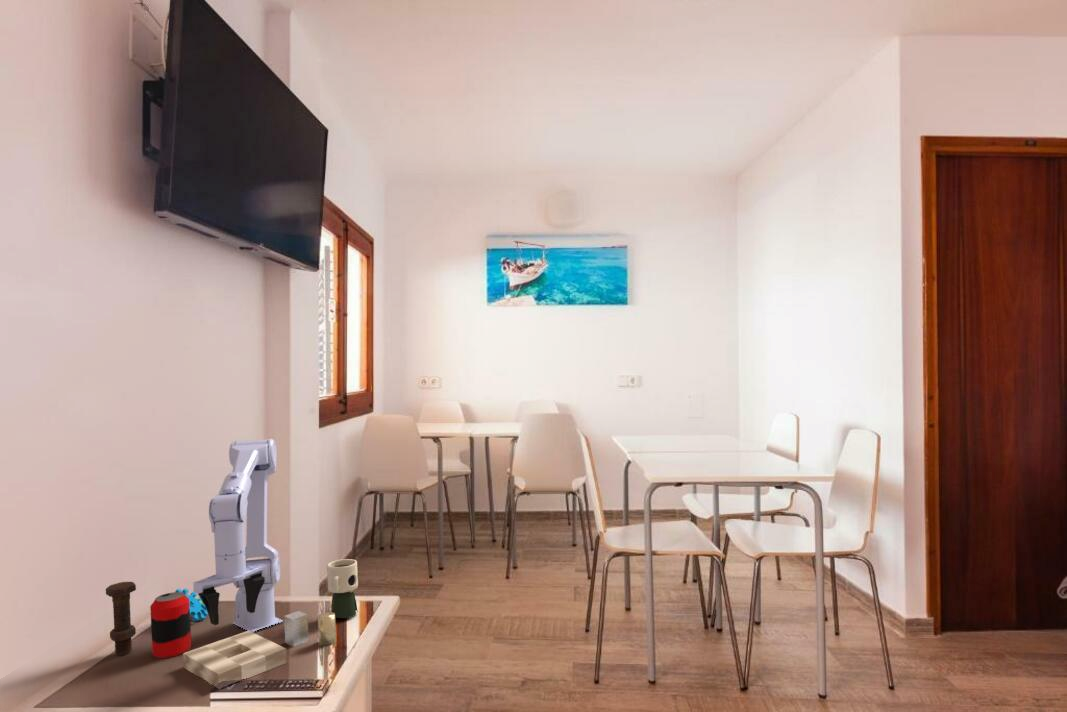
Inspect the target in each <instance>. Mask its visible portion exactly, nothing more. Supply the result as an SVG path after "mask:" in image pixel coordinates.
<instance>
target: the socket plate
mask: <svg viewBox="0 0 1067 712" xmlns="http://www.w3.org/2000/svg"><path fill="white" fill-rule="evenodd" d="M182 657H183V668H184V669H186V670H187V671H189V673H192V674H193V673H194V674H193V675H195V674H196V675H197V676H196V675H195V676H196V677H198V676H199V677H201V678H203V679H204V680H206V681H208V682H209V683H210V684H209V683H208V684H209V685H211V684H212V685H215V684H217V683H220V682H222V681H230V680H239V679H245V680H247V679H250V678H252V677H256V676H257V675H259V674H262V673H264V672H267V671H269V670H272V669H275V668H277V667H279V666H283V665H284V664H287V648H286V647H283V646H281V645H279V644H278V643H275V642H273V641H271V640H269V639H267V638H265V637H262V636H261V635H259V634H257V633H256V632H251V631H246V630H245V631H243V632H241V633H238V634H235V635H232V636H229V637H225V638H224V639H220V640H217V641H214V642H212V643H209V644H206V645H203V646H201V647H197V648H194V649H192V650H188V651H186V652H185V653H183V654H182ZM199 677H198V678H199ZM201 678H200V679H201ZM246 678H247V679H246ZM203 679H202V680H203ZM204 680H203V681H204ZM206 681H205V682H206ZM212 685H211V686H212Z"/></svg>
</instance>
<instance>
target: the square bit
mask: <svg viewBox="0 0 1067 712" xmlns="http://www.w3.org/2000/svg"><path fill="white" fill-rule="evenodd" d="M308 619H309V618H308V614H307V613H305V612H303V611H301V610H297V611H294V612H292V613H289V614H286V615H283V624H284V626H283V627H284V643H285V644H287V645H289V646H291V647H293V648H294V647H297V646H300V645H302V644H304V643H307V642H309V623H308Z"/></svg>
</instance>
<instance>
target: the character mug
mask: <svg viewBox="0 0 1067 712" xmlns="http://www.w3.org/2000/svg"><path fill="white" fill-rule="evenodd" d="M326 573H327V576H326V577H327V578H326V579H327V589H328V590H327V591H328V592H330V593H333V594H332V598H331V607H330V610H331V611H330V612H333V613H335V619H336V618H337V619H341V620H343V619H348V618H353V617H355V616H356V615H357V613H358V612H359V611H358V606H357V605H358V604H357V600H356V594H355V592H354V590H356V589H357V588H358V587H359V579H358V560H356V559H352V558H351V559H350V558H343V559H337V560H333V561H330V562H329V563H327V565H326Z"/></svg>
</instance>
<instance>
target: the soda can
mask: <svg viewBox="0 0 1067 712" xmlns="http://www.w3.org/2000/svg"><path fill="white" fill-rule="evenodd" d="M149 608H150V626H151V629H150V631H151V632H150V633H151V649H152V650H151V651H152V655H153V657H155V658H157V659H166V658H167V659H168V658H173V657H177V656H179V655H180V656H181V655H183V653H185V652H188V651H190V649H191V647H192V634H191V614H190V606H189V598H188V597H187V596H186V595H184V593H182V592H175V591H174V592H166V593H164V594H161V595H159V596H157V597H155V598H154V600H153V602H152V604H151V605H150V606H149Z"/></svg>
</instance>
